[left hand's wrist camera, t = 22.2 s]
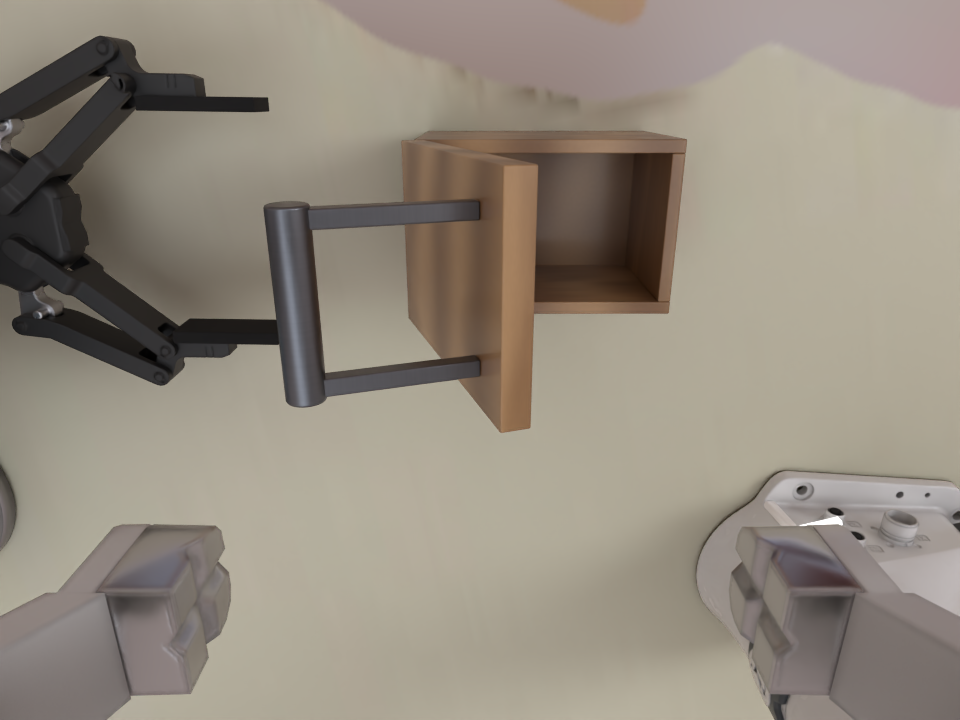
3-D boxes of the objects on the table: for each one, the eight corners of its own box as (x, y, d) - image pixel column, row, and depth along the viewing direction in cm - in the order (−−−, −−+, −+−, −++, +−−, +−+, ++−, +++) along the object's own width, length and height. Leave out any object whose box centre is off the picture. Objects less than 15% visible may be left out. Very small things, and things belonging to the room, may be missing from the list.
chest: (644, 131, 44) (687, 139, 35) (632, 272, 48) (669, 313, 39) (427, 131, 44) (414, 139, 35) (431, 272, 48) (420, 313, 39)
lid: (539, 163, 22) (261, 172, 19) (531, 428, 25) (295, 467, 23) (424, 139, 35) (250, 143, 32) (429, 316, 38) (272, 332, 36)
